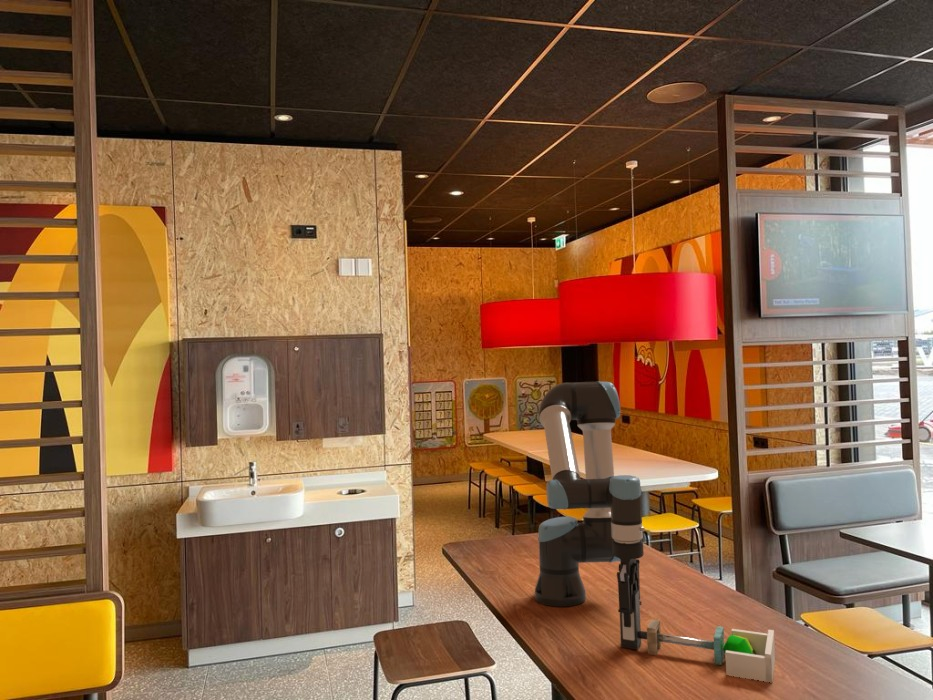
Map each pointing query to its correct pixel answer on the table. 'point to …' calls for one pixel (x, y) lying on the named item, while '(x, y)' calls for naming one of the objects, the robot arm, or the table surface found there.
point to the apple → (738, 645)
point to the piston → (714, 645)
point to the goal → (753, 657)
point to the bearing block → (653, 637)
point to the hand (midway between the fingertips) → (631, 635)
